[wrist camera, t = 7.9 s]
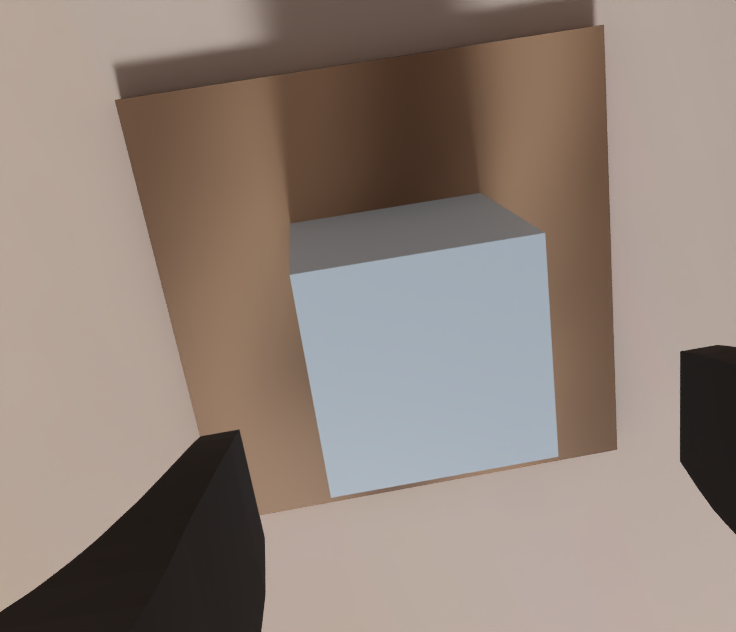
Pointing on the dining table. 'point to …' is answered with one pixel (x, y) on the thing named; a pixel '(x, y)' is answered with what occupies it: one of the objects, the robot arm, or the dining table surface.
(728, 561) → the dining table surface
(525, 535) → the dining table surface
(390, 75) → the walnut board
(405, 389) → the blue cube
